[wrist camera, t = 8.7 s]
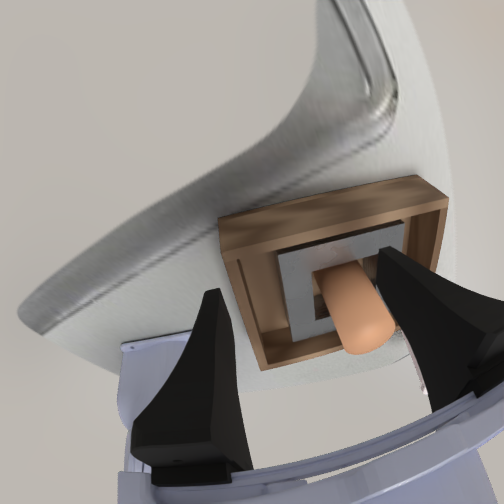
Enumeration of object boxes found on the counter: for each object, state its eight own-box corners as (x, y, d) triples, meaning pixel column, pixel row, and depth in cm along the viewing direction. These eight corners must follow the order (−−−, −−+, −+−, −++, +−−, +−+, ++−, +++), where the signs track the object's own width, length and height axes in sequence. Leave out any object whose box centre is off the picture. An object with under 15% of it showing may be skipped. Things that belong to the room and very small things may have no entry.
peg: (315, 289, 27) (344, 360, 21) (310, 256, 25) (343, 329, 18) (356, 276, 27) (392, 343, 20) (354, 242, 24) (397, 310, 18)
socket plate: (286, 319, 29) (292, 342, 26) (269, 233, 23) (277, 255, 21) (379, 292, 29) (391, 312, 26) (386, 205, 23) (404, 223, 21)
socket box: (253, 335, 30) (260, 371, 27) (217, 218, 22) (220, 252, 19) (402, 292, 30) (421, 321, 27) (416, 174, 22) (449, 197, 19)
